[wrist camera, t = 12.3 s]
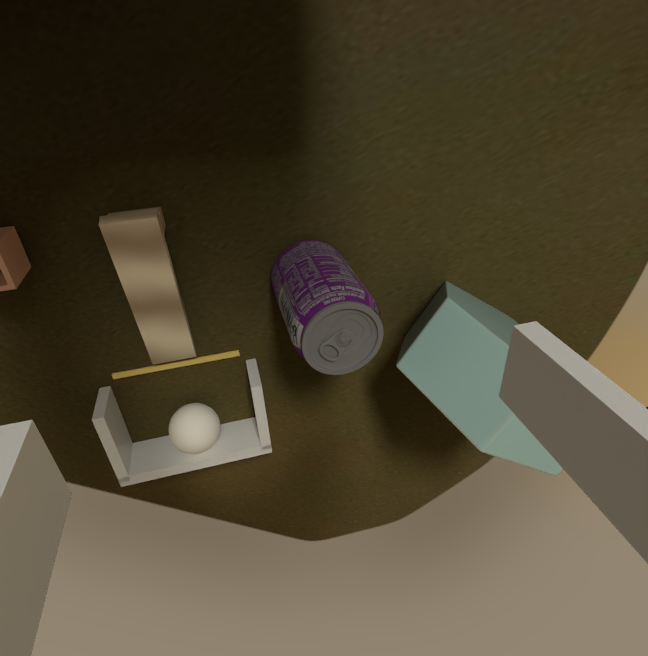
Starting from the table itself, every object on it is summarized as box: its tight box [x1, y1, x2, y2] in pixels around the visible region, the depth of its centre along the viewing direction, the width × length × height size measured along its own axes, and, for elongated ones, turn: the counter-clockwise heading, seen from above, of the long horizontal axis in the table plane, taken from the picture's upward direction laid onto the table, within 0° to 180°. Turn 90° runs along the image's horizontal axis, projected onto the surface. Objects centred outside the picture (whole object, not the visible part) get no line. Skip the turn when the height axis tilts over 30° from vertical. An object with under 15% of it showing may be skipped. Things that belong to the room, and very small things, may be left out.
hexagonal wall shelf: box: [396, 281, 563, 476], centre depth 44 cm, size 17×8×21 cm
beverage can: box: [271, 240, 383, 375], centre depth 38 cm, size 7×7×12 cm
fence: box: [92, 359, 272, 487], centre depth 46 cm, size 9×15×4 cm, turn 93°
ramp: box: [99, 207, 196, 365], centre depth 38 cm, size 15×4×4 cm, turn 3°
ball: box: [169, 403, 220, 454], centre depth 46 cm, size 5×5×5 cm
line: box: [111, 350, 240, 379], centre depth 44 cm, size 1×12×1 cm, turn 93°
